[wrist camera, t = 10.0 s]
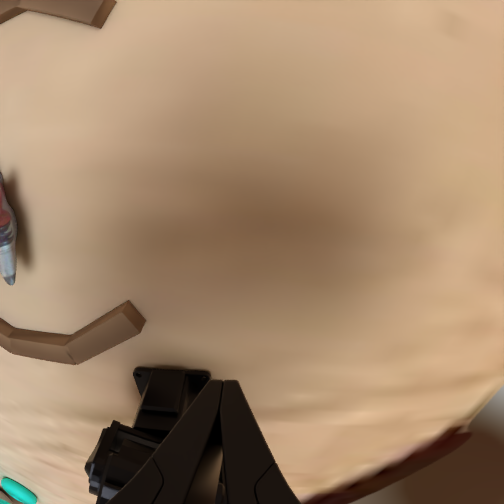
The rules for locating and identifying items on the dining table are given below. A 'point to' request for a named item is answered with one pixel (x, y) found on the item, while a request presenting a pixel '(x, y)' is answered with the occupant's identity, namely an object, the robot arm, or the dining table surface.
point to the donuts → (17, 492)
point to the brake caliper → (7, 238)
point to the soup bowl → (5, 497)
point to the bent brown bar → (121, 318)
